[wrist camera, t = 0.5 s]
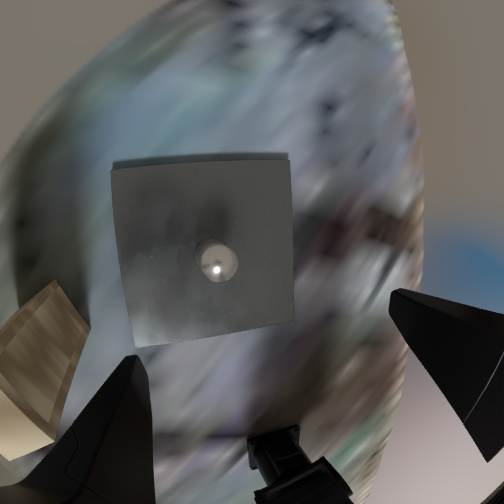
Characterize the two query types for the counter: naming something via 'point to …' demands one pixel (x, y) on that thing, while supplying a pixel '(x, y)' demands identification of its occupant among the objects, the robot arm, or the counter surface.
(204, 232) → the post plate
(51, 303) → the birch post
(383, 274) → the counter surface
